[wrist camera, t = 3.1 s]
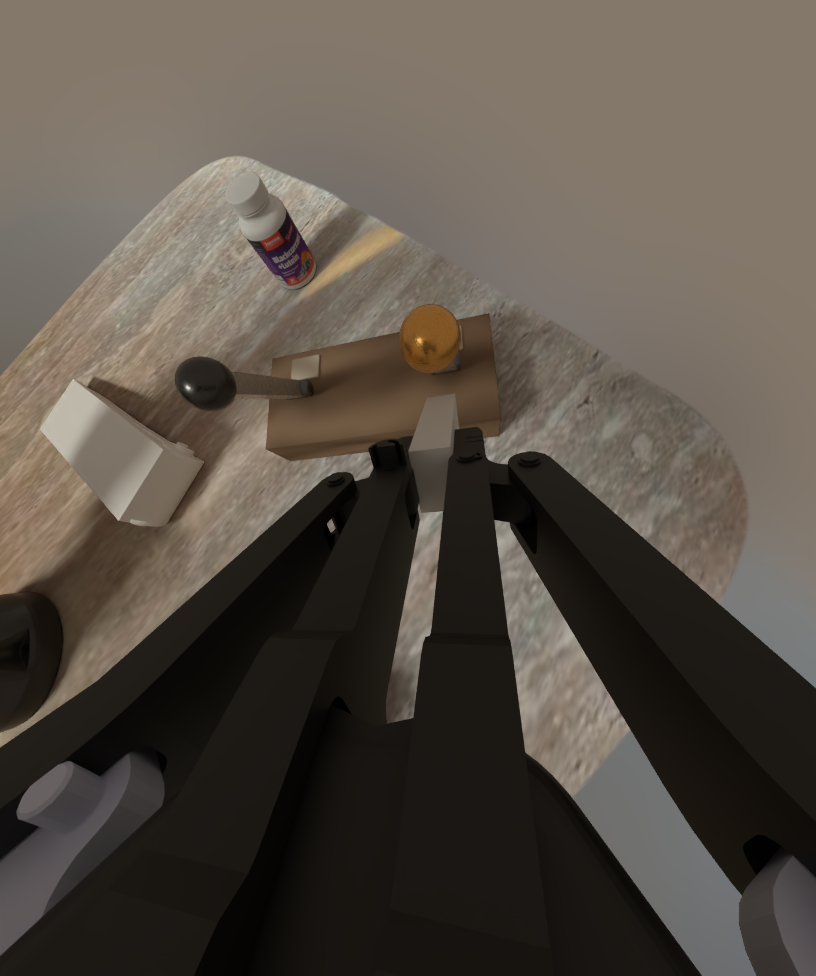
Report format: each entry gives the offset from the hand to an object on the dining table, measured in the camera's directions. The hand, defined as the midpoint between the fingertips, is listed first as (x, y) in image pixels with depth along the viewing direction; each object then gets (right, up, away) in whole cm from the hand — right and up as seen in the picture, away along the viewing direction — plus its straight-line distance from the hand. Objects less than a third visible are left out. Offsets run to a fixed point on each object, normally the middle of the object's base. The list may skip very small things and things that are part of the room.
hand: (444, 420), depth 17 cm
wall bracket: (-39, +1, +24) cm, 46 cm away
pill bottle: (-16, +24, +23) cm, 37 cm away
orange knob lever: (+1, +7, +9) cm, 11 cm away
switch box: (-4, +5, +16) cm, 17 cm away
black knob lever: (-12, +6, +12) cm, 18 cm away
